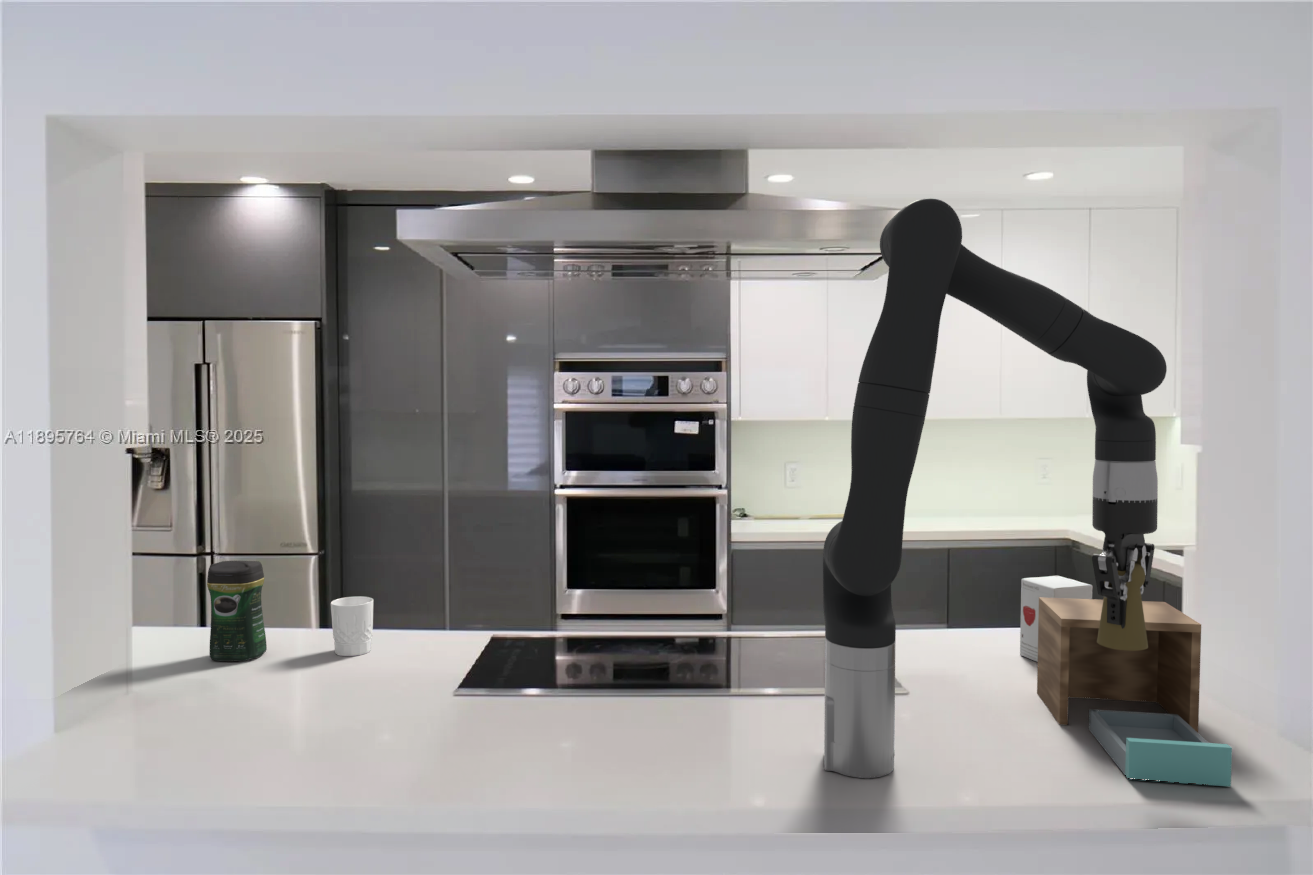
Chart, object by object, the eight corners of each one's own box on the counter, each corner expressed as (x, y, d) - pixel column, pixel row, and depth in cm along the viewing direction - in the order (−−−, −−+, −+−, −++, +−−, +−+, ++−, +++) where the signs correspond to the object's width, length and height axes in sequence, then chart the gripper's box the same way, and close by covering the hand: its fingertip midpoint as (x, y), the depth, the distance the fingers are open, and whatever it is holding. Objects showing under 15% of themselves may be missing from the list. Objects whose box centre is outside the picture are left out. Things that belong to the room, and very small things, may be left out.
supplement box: (1017, 655, 168) (1019, 577, 167) (1056, 650, 171) (1057, 574, 170) (1052, 669, 160) (1054, 587, 159) (1092, 664, 162) (1094, 584, 161)
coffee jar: (273, 651, 172) (270, 557, 171) (251, 663, 164) (248, 565, 163) (226, 650, 173) (223, 556, 172) (202, 662, 165) (199, 564, 164)
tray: (1128, 779, 114) (1129, 741, 113) (1088, 729, 131) (1089, 695, 130) (1230, 786, 111) (1232, 748, 111) (1176, 734, 128) (1177, 700, 128)
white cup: (361, 658, 167) (359, 606, 167) (323, 656, 169) (322, 604, 168) (382, 646, 175) (380, 597, 175) (345, 644, 177) (344, 595, 176)
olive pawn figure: (1151, 642, 117) (1152, 560, 116) (1144, 653, 112) (1144, 567, 111) (1101, 635, 120) (1102, 555, 120) (1092, 645, 116) (1092, 562, 115)
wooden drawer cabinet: (1059, 724, 133) (1061, 618, 132) (1036, 693, 147) (1038, 597, 146) (1198, 733, 130) (1201, 624, 129) (1162, 700, 143) (1164, 601, 143)
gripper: (1118, 488, 122) (1117, 610, 123) (1070, 497, 113) (1070, 629, 114) (1177, 492, 117) (1175, 620, 118) (1131, 502, 108) (1130, 640, 109)
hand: (1123, 623), depth 116 cm, fingers closed on olive pawn figure, 3 cm apart
